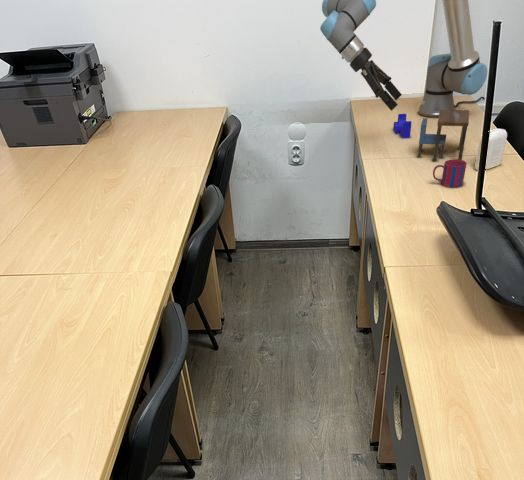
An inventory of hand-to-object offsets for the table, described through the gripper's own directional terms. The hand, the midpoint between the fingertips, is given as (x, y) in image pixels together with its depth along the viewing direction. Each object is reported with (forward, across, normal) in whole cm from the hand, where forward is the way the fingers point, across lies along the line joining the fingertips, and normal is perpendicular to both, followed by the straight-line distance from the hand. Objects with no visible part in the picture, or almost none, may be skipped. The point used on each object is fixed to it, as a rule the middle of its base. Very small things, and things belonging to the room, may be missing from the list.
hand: (396, 102), depth 185 cm
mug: (+27, +28, +2) cm, 39 cm away
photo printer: (+36, +10, +11) cm, 39 cm away
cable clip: (+13, -23, -12) cm, 29 cm away
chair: (+22, 0, -2) cm, 22 cm away
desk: (+27, 0, +2) cm, 27 cm away
